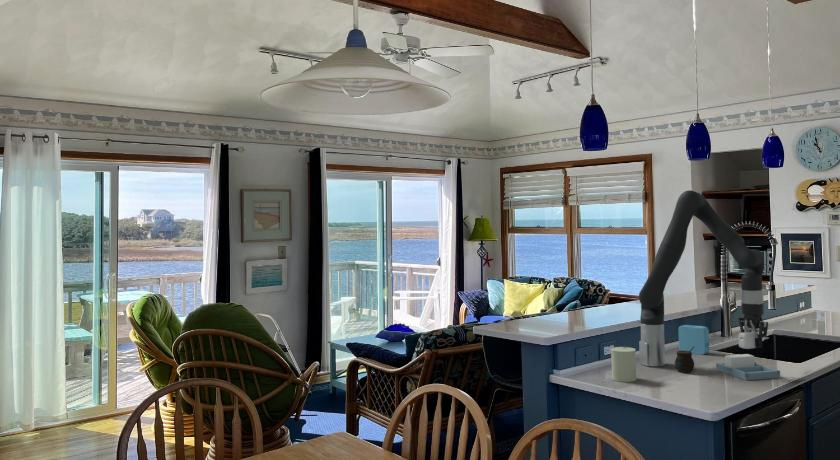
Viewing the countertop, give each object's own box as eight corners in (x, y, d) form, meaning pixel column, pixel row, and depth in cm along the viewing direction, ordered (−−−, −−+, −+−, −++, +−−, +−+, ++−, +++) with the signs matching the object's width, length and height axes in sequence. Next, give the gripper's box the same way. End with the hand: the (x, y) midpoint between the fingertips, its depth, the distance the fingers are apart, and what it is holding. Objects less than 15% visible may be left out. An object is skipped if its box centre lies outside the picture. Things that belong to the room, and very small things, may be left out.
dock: (746, 380, 235) (745, 364, 235) (716, 369, 253) (715, 354, 253) (780, 377, 237) (779, 361, 237) (747, 367, 255) (747, 352, 255)
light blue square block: (709, 353, 283) (708, 326, 283) (705, 355, 280) (704, 328, 280) (683, 350, 292) (682, 324, 292) (678, 351, 289) (678, 325, 289)
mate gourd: (671, 370, 255) (670, 345, 255) (689, 369, 256) (688, 344, 256) (680, 374, 248) (679, 348, 248) (698, 373, 248) (698, 347, 248)
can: (637, 377, 245) (636, 346, 245) (635, 382, 237) (634, 350, 237) (613, 375, 249) (612, 345, 249) (610, 381, 241) (609, 349, 241)
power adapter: (761, 345, 245) (760, 329, 245) (771, 347, 240) (770, 331, 240) (737, 347, 242) (736, 332, 242) (746, 349, 237) (746, 334, 237)
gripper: (731, 300, 247) (732, 343, 247) (756, 304, 233) (758, 350, 233) (748, 299, 248) (749, 342, 249) (774, 303, 234) (776, 349, 234)
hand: (753, 346), depth 241 cm, fingers closed on power adapter, 5 cm apart
